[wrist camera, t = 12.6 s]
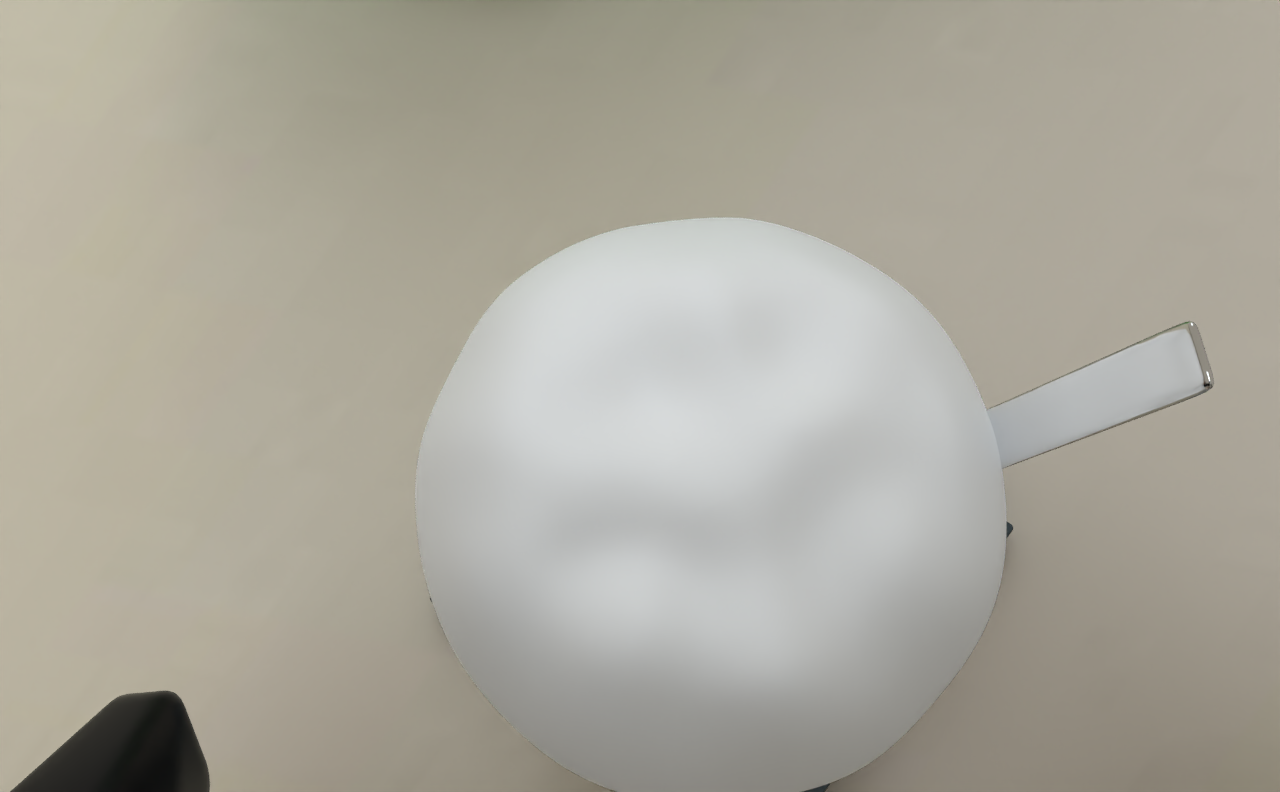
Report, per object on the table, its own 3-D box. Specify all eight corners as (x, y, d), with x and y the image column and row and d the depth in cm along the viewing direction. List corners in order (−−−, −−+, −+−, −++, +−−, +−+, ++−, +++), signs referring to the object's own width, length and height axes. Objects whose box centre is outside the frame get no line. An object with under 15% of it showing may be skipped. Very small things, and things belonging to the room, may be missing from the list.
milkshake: (944, 704, 17) (1323, 734, 7) (563, 774, 16) (397, 903, 7) (871, 391, 18) (1110, 28, 8) (513, 455, 18) (310, 171, 8)
